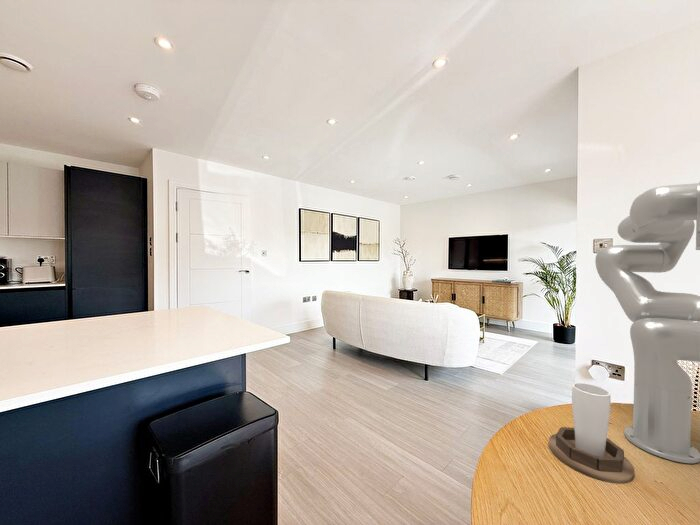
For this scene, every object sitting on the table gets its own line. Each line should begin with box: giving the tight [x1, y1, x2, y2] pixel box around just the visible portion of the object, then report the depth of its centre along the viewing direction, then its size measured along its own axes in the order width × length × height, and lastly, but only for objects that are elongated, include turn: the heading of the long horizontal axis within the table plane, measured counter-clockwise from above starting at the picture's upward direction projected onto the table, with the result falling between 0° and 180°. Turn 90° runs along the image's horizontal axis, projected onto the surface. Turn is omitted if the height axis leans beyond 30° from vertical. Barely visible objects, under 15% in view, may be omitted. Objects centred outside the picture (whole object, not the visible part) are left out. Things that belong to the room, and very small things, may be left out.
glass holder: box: [548, 426, 635, 484], centre depth 65 cm, size 15×15×4 cm
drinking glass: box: [571, 382, 612, 457], centre depth 65 cm, size 7×7×15 cm
